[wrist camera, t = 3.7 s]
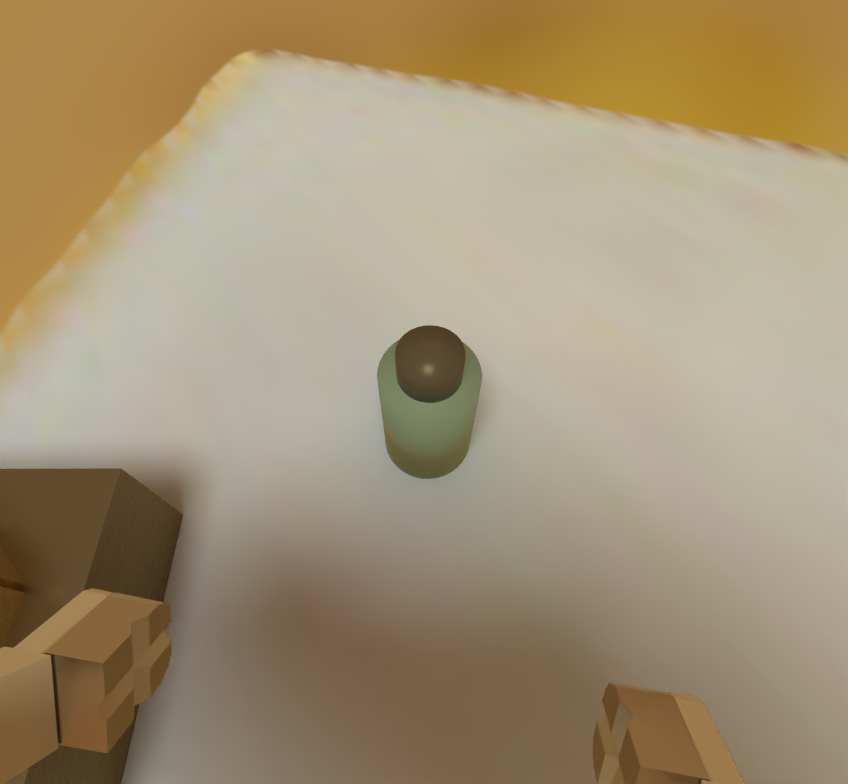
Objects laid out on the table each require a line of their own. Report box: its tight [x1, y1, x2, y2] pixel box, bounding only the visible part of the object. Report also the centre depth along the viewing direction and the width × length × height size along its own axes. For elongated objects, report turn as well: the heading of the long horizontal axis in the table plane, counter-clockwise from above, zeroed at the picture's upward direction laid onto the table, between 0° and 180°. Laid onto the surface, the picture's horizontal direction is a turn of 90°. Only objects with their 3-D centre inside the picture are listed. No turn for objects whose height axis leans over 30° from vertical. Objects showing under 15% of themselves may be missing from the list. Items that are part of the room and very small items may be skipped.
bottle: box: [377, 326, 482, 479], centre depth 24 cm, size 4×4×8 cm
